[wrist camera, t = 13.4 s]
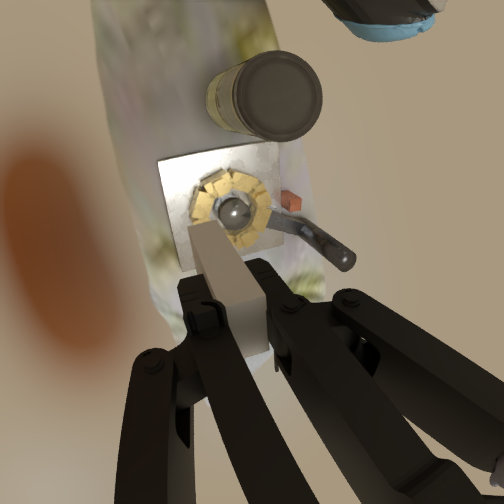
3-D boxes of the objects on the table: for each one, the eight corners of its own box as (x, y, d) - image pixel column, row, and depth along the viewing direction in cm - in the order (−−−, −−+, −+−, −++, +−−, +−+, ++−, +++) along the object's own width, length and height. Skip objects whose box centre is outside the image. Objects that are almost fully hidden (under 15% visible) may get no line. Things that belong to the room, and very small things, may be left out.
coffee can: (242, 54, 35) (287, 34, 24) (283, 104, 41) (338, 106, 29) (189, 96, 36) (213, 88, 24) (234, 146, 42) (275, 161, 30)
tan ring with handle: (181, 235, 43) (199, 281, 32) (204, 161, 39) (232, 181, 28) (296, 257, 53) (337, 297, 42) (321, 198, 49) (371, 227, 38)
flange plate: (157, 160, 38) (159, 167, 34) (285, 138, 44) (302, 142, 39) (181, 267, 47) (186, 285, 43) (290, 238, 53) (305, 251, 48)
